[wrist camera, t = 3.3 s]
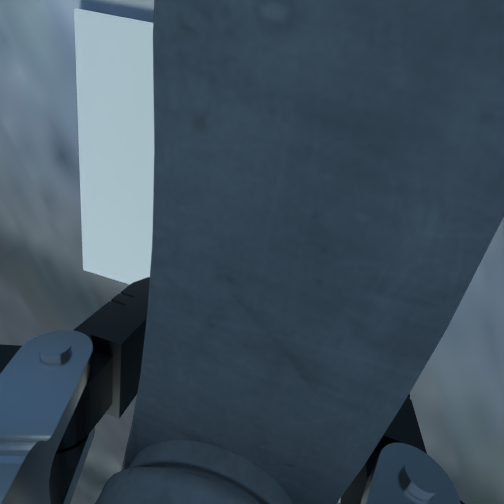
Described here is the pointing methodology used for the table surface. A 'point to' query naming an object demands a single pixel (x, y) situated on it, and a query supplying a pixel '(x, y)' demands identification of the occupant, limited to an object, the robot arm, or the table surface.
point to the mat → (115, 143)
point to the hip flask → (306, 234)
